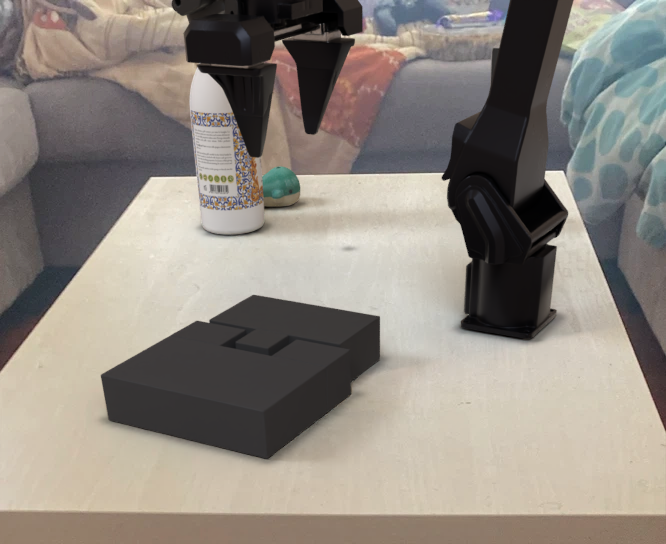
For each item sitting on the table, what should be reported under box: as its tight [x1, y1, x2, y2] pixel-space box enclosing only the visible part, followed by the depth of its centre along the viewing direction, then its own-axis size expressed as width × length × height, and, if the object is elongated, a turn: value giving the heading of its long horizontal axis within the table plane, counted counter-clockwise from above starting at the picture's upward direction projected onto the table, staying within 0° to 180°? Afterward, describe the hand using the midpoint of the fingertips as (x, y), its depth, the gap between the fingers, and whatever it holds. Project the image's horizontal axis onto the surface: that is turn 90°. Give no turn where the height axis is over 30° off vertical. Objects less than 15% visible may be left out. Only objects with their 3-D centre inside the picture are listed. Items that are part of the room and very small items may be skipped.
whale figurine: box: [262, 165, 301, 208], centre depth 119 cm, size 6×7×4 cm
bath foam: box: [188, 63, 266, 236], centre depth 107 cm, size 7×7×20 cm
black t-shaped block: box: [208, 294, 381, 382], centre depth 82 cm, size 12×10×4 cm
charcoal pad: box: [100, 320, 352, 460], centre depth 77 cm, size 14×12×4 cm
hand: (284, 145), depth 90 cm, fingers open, 9 cm apart
